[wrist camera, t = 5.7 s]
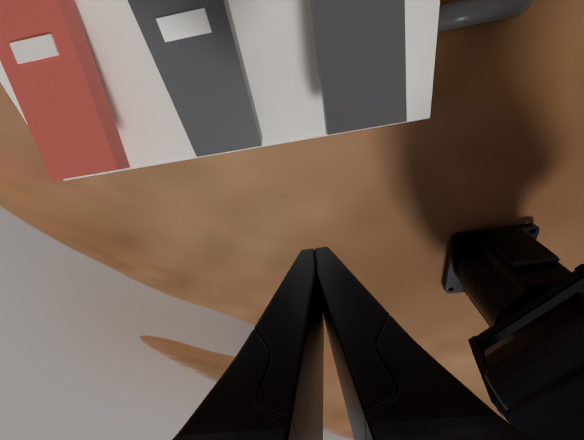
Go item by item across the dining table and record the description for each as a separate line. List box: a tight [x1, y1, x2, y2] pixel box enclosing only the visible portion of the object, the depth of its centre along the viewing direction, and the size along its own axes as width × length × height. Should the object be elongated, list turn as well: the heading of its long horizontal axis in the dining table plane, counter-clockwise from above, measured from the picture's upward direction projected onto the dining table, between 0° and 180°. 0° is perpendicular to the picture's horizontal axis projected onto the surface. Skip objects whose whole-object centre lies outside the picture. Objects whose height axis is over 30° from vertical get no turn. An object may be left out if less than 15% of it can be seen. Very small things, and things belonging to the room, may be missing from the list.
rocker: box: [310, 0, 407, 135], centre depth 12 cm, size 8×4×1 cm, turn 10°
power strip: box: [0, 0, 532, 180], centre depth 15 cm, size 9×28×3 cm, turn 100°
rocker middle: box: [128, 0, 263, 157], centre depth 12 cm, size 8×4×1 cm, turn 9°
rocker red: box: [0, 0, 130, 181], centre depth 13 cm, size 8×4×1 cm, turn 10°
